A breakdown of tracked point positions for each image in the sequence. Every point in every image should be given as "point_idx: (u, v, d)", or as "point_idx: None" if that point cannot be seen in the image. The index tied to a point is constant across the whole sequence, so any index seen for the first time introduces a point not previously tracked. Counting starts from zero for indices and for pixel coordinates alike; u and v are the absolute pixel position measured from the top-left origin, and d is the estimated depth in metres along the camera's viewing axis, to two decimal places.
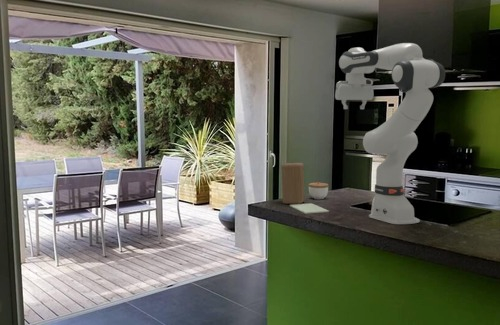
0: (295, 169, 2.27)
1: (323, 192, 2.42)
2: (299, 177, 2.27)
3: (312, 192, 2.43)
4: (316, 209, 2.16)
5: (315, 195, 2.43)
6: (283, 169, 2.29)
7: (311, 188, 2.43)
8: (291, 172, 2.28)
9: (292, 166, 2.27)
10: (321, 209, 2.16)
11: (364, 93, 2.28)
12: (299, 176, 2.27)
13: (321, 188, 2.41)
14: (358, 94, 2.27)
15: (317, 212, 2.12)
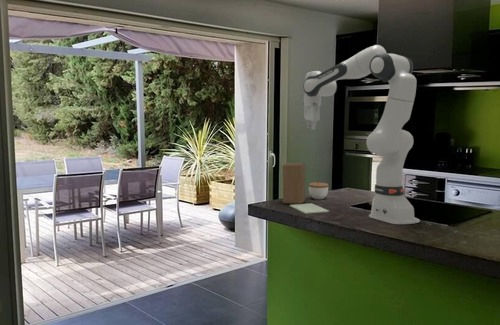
0: (296, 169, 2.27)
1: (323, 192, 2.42)
2: (300, 177, 2.27)
3: (312, 192, 2.43)
4: (316, 209, 2.16)
5: (315, 195, 2.43)
6: (284, 169, 2.29)
7: (311, 188, 2.43)
8: (292, 172, 2.28)
9: (293, 166, 2.27)
10: (321, 209, 2.16)
11: None
12: (300, 176, 2.27)
13: (321, 188, 2.41)
14: None
15: (317, 212, 2.12)
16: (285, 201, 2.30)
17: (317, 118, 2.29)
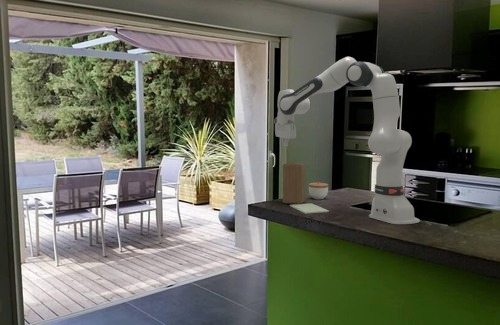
0: (296, 169, 2.27)
1: (323, 192, 2.42)
2: (300, 177, 2.27)
3: (312, 192, 2.43)
4: (316, 209, 2.16)
5: (315, 195, 2.43)
6: (284, 169, 2.29)
7: (311, 188, 2.43)
8: (292, 172, 2.28)
9: (293, 166, 2.28)
10: (321, 209, 2.16)
11: None
12: (300, 176, 2.27)
13: (321, 188, 2.41)
14: None
15: (317, 212, 2.12)
16: (285, 201, 2.30)
17: (294, 136, 2.32)
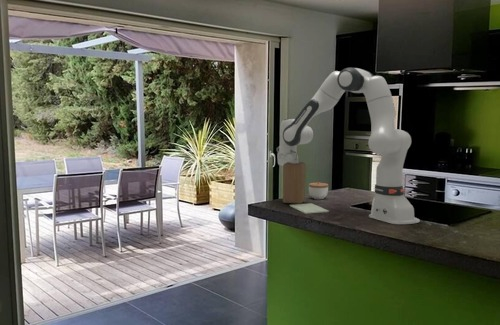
0: (297, 169, 2.26)
1: (323, 192, 2.42)
2: (300, 177, 2.26)
3: (312, 192, 2.43)
4: (316, 209, 2.16)
5: (315, 195, 2.43)
6: (285, 168, 2.28)
7: (311, 188, 2.43)
8: (293, 172, 2.27)
9: (294, 166, 2.26)
10: (321, 209, 2.16)
11: None
12: (300, 176, 2.26)
13: (321, 188, 2.41)
14: None
15: (317, 212, 2.12)
16: (285, 201, 2.30)
17: None
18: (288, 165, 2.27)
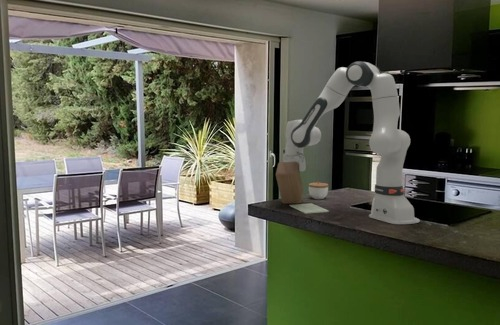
0: (290, 178, 2.18)
1: (323, 192, 2.42)
2: (296, 184, 2.20)
3: (312, 192, 2.43)
4: (316, 209, 2.16)
5: (315, 195, 2.43)
6: (278, 178, 2.20)
7: (311, 188, 2.43)
8: (287, 180, 2.19)
9: (287, 175, 2.17)
10: (321, 209, 2.16)
11: None
12: (295, 183, 2.19)
13: (321, 188, 2.41)
14: None
15: (317, 212, 2.12)
16: (285, 202, 2.29)
17: (303, 168, 2.23)
18: (281, 175, 2.18)
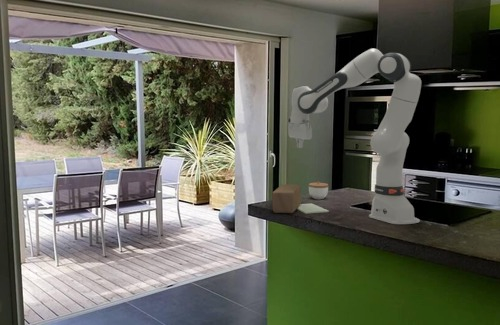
0: None
1: (323, 192, 2.42)
2: None
3: (312, 192, 2.43)
4: (316, 209, 2.16)
5: (315, 195, 2.43)
6: None
7: (311, 188, 2.43)
8: None
9: (285, 212, 2.11)
10: (321, 209, 2.16)
11: None
12: (294, 210, 2.14)
13: (321, 188, 2.41)
14: None
15: (317, 212, 2.12)
16: None
17: (310, 136, 2.15)
18: (279, 212, 2.11)
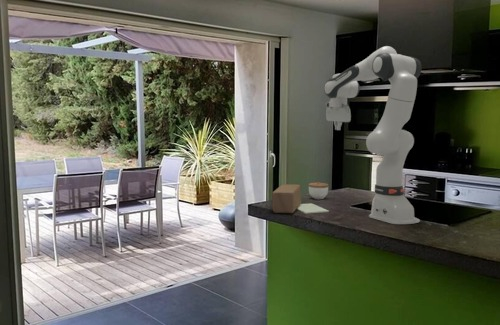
0: None
1: (323, 192, 2.42)
2: None
3: (312, 192, 2.43)
4: (316, 209, 2.16)
5: (315, 195, 2.43)
6: None
7: (311, 188, 2.43)
8: None
9: (285, 212, 2.11)
10: (321, 209, 2.16)
11: None
12: (294, 210, 2.14)
13: (321, 188, 2.41)
14: None
15: (317, 212, 2.12)
16: None
17: (348, 119, 2.37)
18: (279, 212, 2.11)
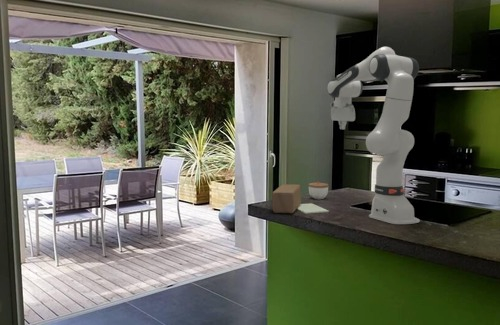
0: None
1: (323, 192, 2.42)
2: None
3: (312, 192, 2.43)
4: (316, 209, 2.16)
5: (315, 195, 2.43)
6: None
7: (311, 188, 2.43)
8: None
9: (285, 212, 2.11)
10: (321, 209, 2.16)
11: None
12: (294, 210, 2.14)
13: (321, 188, 2.41)
14: None
15: (317, 212, 2.12)
16: None
17: (353, 118, 2.40)
18: (279, 212, 2.11)
